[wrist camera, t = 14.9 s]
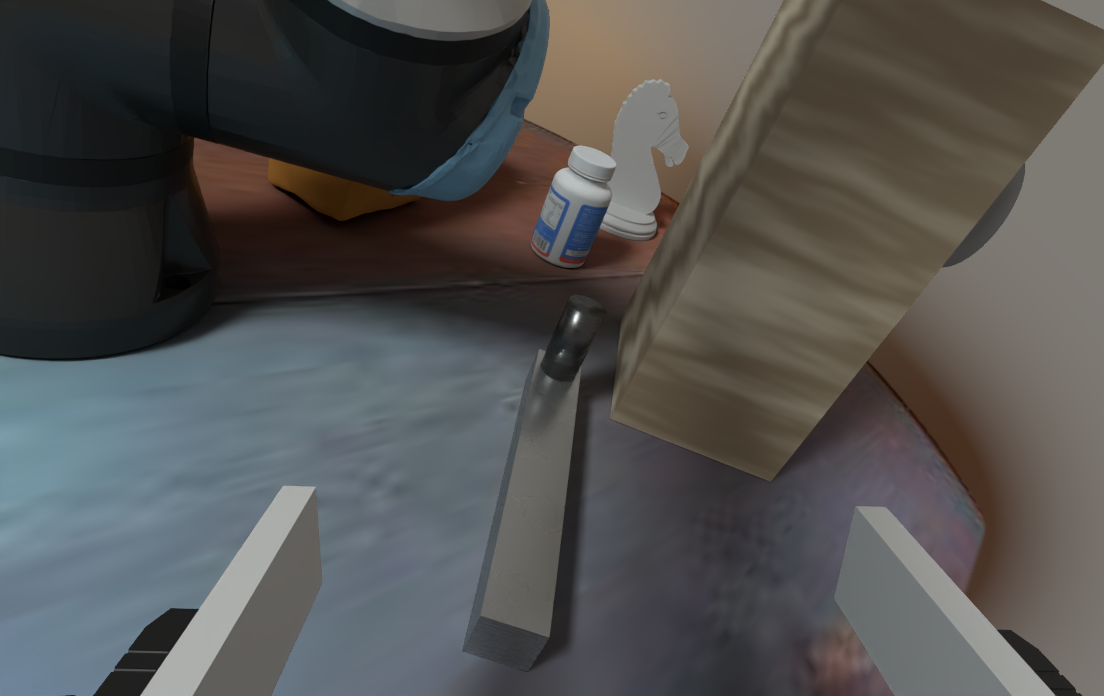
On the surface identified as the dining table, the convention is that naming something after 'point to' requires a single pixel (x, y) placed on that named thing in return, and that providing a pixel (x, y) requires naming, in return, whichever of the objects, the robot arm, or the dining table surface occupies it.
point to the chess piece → (641, 159)
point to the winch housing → (836, 209)
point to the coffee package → (332, 191)
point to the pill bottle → (574, 208)
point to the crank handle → (533, 501)
